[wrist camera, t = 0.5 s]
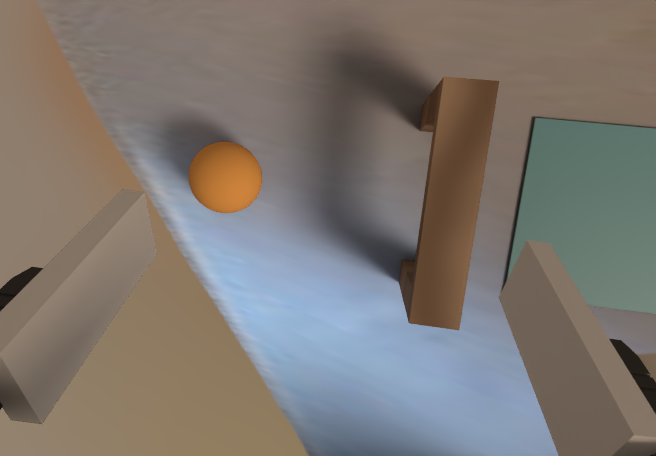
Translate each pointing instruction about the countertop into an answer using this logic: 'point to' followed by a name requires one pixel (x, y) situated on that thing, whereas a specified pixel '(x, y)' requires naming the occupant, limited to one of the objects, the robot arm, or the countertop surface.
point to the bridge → (449, 200)
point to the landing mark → (594, 208)
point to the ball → (225, 177)
